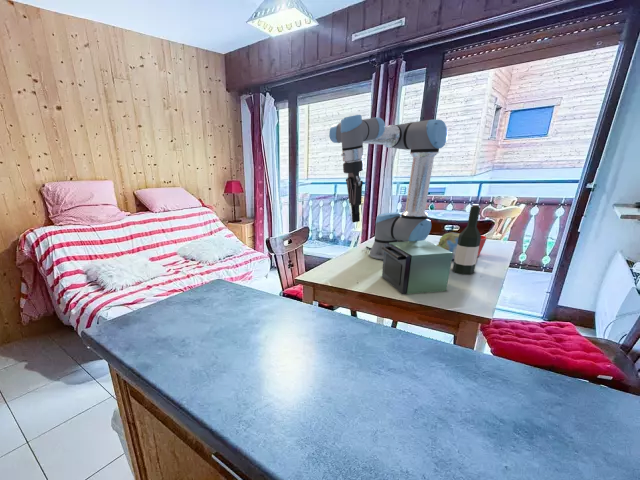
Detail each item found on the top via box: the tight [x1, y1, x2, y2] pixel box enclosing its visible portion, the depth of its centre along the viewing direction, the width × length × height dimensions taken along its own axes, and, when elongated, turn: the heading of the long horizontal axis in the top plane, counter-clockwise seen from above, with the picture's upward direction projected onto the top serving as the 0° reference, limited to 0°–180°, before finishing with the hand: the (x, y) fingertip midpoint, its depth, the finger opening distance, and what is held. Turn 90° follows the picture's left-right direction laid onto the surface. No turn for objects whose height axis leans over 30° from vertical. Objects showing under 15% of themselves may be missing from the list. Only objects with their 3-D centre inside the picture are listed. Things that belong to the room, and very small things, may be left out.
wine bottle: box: [452, 203, 482, 275], centre depth 143 cm, size 8×8×30 cm
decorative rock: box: [436, 232, 460, 260], centre depth 165 cm, size 14×16×15 cm
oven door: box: [381, 243, 410, 295], centre depth 136 cm, size 4×20×16 cm, turn 3°
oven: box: [389, 239, 453, 295], centre depth 136 cm, size 16×20×16 cm
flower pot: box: [477, 234, 487, 257], centre depth 169 cm, size 11×11×10 cm
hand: (356, 221), depth 133 cm, fingers closed
